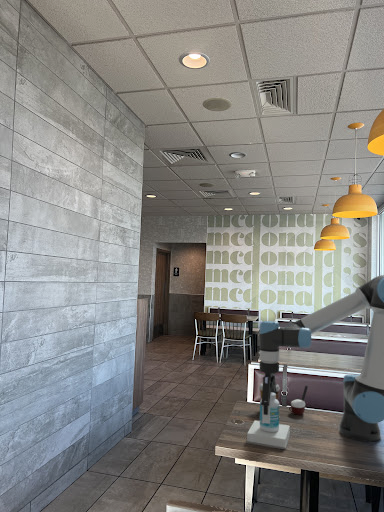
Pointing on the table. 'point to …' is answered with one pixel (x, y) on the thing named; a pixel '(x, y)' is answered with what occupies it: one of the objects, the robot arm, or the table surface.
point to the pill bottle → (271, 415)
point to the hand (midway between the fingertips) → (269, 416)
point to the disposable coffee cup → (276, 390)
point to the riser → (269, 436)
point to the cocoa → (298, 404)
